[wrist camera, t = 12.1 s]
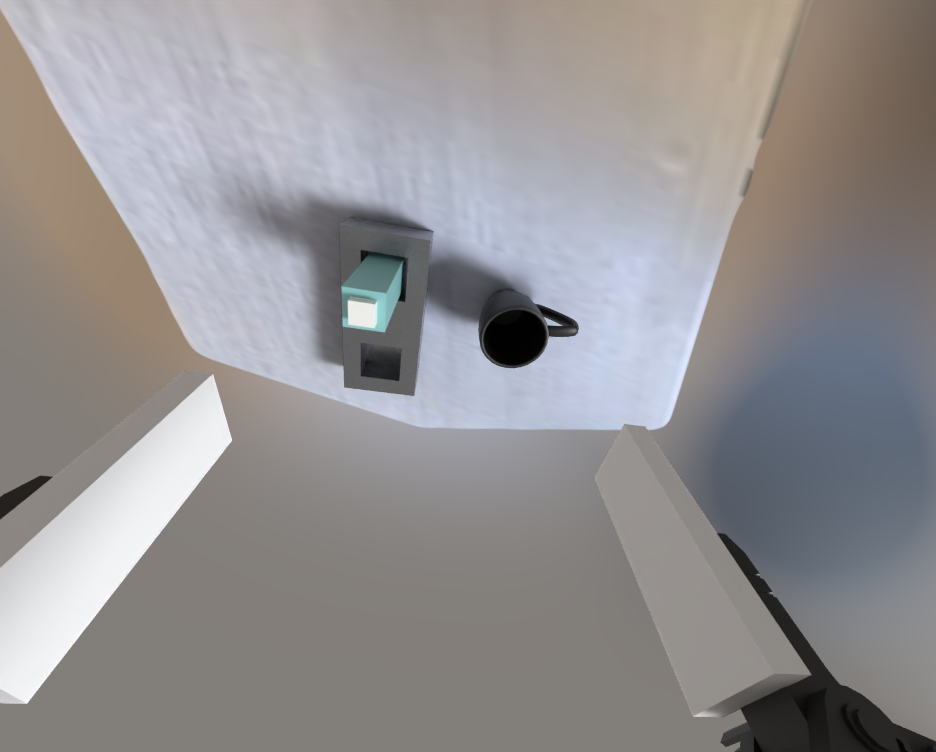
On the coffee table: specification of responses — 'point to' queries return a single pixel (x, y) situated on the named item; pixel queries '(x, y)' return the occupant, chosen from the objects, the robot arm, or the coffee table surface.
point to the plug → (373, 292)
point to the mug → (518, 329)
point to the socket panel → (398, 348)
